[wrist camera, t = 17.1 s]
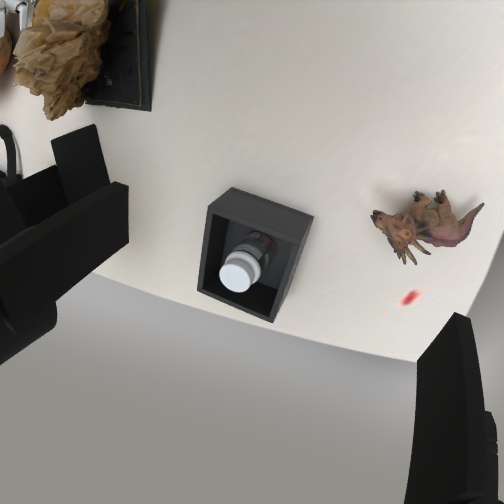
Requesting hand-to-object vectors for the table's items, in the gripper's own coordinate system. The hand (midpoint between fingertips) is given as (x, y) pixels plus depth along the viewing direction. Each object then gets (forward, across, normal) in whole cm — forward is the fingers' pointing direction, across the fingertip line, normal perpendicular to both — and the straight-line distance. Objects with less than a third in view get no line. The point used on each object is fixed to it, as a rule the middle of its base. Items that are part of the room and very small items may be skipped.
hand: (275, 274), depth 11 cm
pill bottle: (+28, -7, -18) cm, 34 cm away
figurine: (+20, -54, +12) cm, 59 cm away
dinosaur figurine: (+29, +12, -5) cm, 32 cm away
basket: (+29, -7, -18) cm, 35 cm away
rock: (+26, -38, +8) cm, 46 cm away
